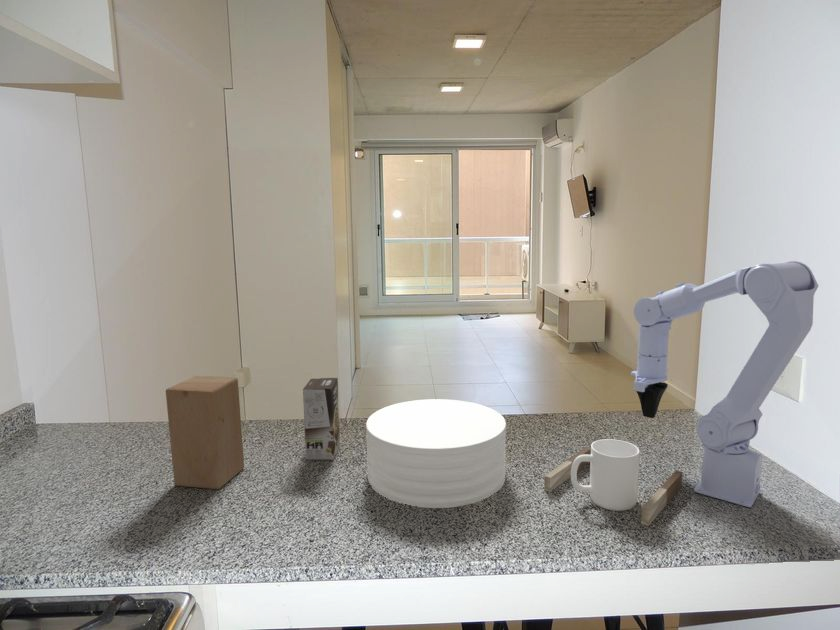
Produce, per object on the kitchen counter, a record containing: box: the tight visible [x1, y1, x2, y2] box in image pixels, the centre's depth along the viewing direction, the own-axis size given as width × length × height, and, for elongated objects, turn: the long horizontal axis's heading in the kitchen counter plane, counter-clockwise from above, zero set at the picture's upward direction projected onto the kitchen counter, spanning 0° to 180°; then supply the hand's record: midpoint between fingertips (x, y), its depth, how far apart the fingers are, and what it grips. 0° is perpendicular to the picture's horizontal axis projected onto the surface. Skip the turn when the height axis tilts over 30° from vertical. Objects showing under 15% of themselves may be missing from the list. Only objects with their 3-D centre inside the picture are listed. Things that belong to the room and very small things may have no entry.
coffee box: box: [302, 377, 341, 461], centre depth 124 cm, size 9×6×16 cm
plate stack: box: [365, 398, 507, 509], centre depth 113 cm, size 28×28×12 cm
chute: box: [543, 446, 684, 527], centre depth 105 cm, size 19×18×3 cm
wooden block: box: [165, 375, 245, 490], centre depth 112 cm, size 10×10×20 cm
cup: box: [570, 438, 641, 512], centre depth 101 cm, size 8×12×10 cm
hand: (649, 416), depth 117 cm, fingers closed
